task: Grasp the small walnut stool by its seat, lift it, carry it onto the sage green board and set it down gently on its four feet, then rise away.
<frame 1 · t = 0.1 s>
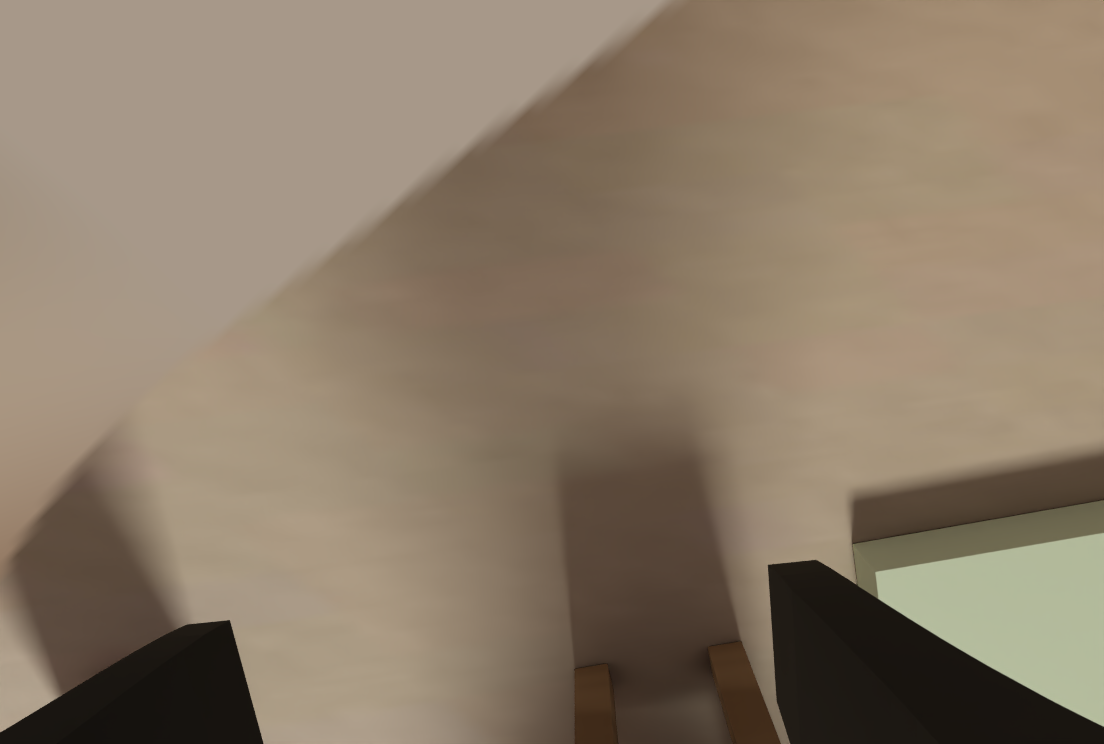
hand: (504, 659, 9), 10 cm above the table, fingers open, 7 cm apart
walnut stool: (671, 725, 21), on the table
sage green board: (1082, 718, 20), on the table
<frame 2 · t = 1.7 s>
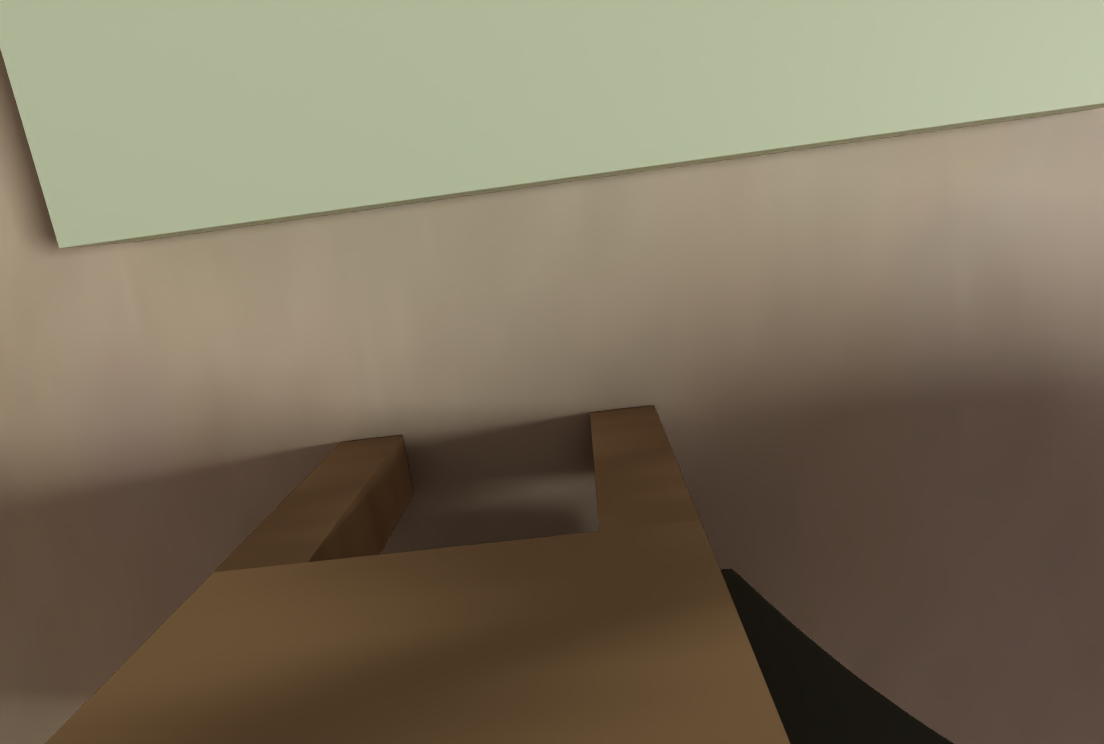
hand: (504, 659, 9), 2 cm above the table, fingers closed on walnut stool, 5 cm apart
walnut stool: (518, 566, 11), on the table, touching gripper
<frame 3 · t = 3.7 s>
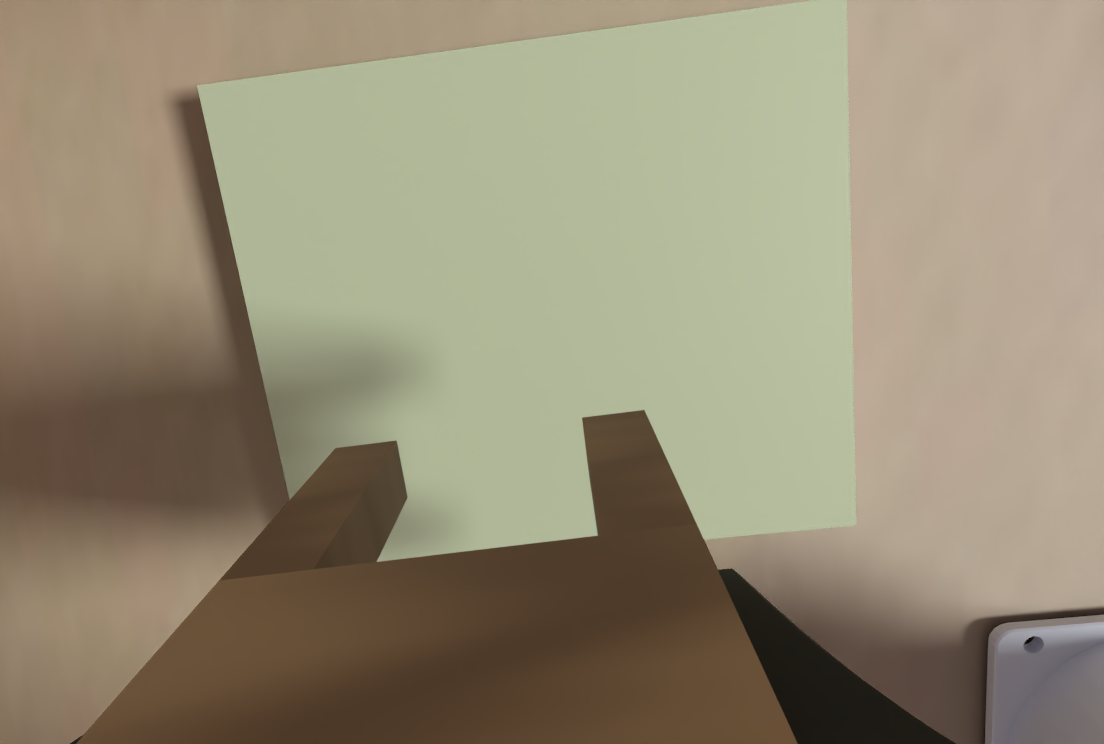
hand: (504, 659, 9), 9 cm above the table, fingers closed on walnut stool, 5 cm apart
walnut stool: (511, 568, 12), point 7 cm above the table, touching gripper
sage green board: (548, 309, 17), on the table
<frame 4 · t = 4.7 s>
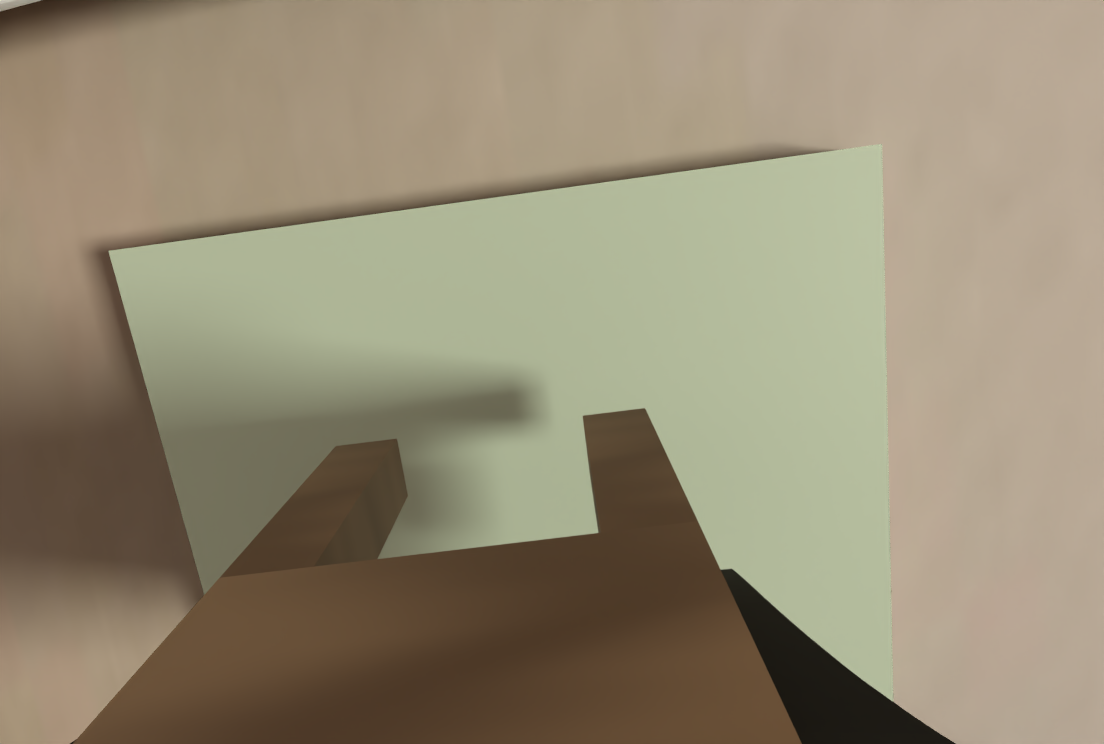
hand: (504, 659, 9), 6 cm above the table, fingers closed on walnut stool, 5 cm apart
walnut stool: (511, 567, 12), point 4 cm above the table, touching gripper
sage green board: (532, 479, 15), on the table
when the fingers open (5 cm above the table, at t = 5.5 s): walnut stool stays where it is, resting on sage green board.
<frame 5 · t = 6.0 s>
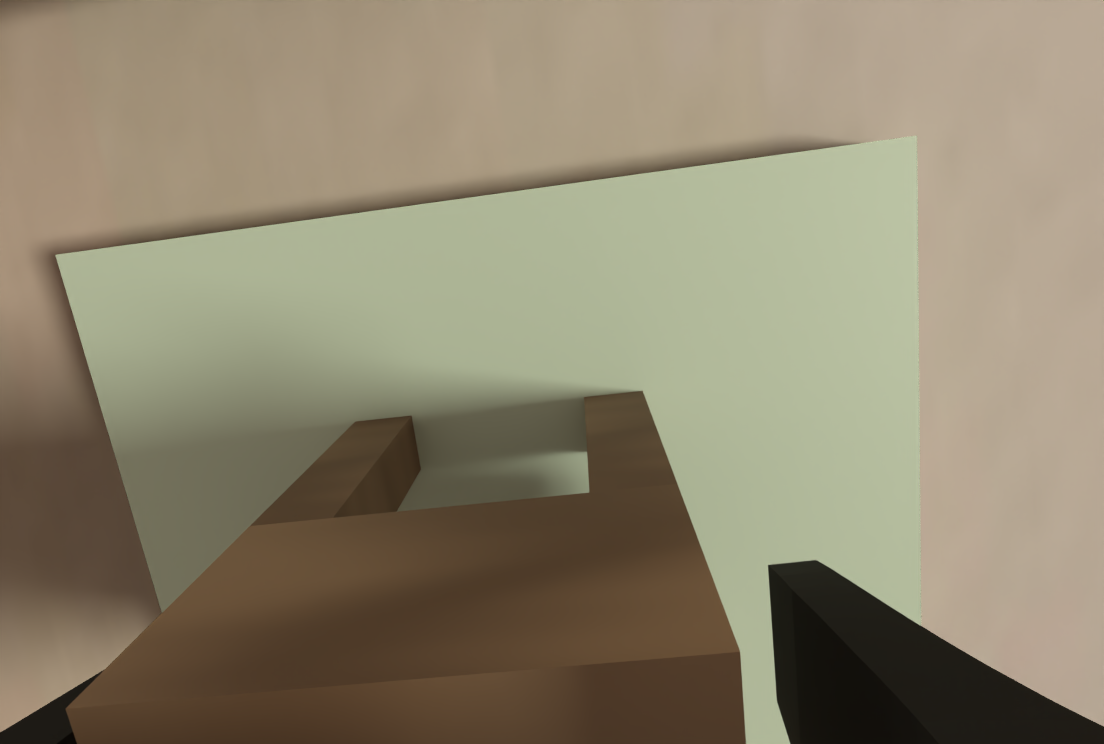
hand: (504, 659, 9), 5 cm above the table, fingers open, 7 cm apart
walnut stool: (516, 538, 12), point 1 cm above the table, touching sage green board
sage green board: (527, 502, 14), on the table
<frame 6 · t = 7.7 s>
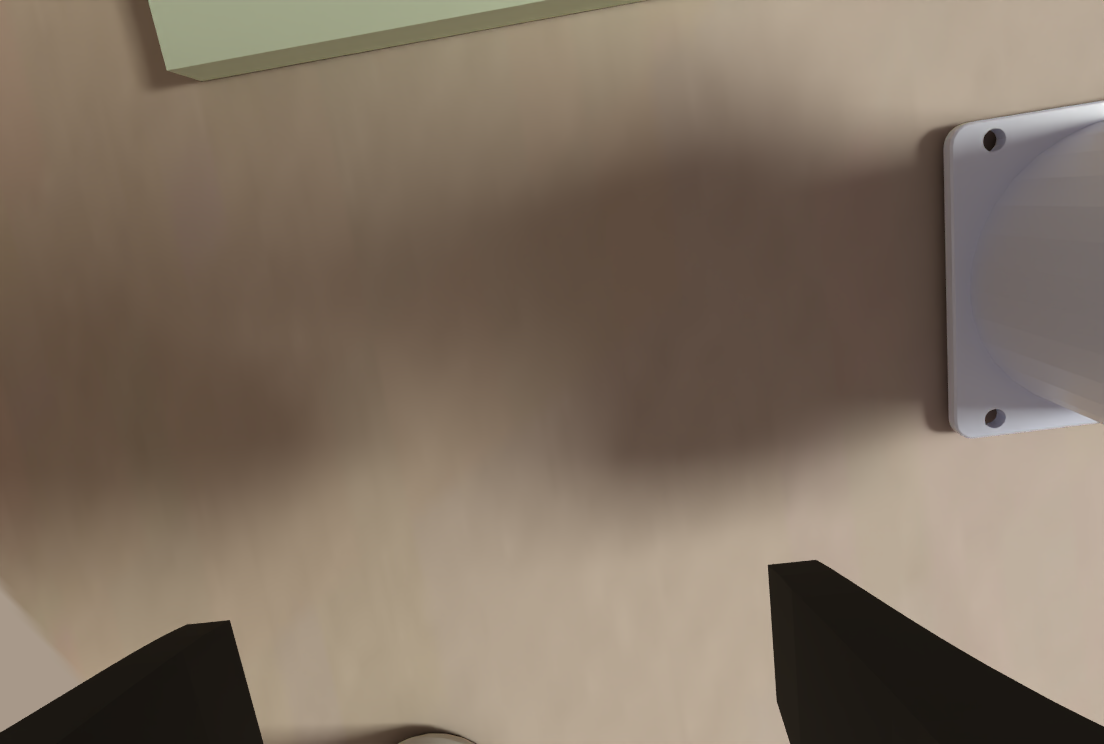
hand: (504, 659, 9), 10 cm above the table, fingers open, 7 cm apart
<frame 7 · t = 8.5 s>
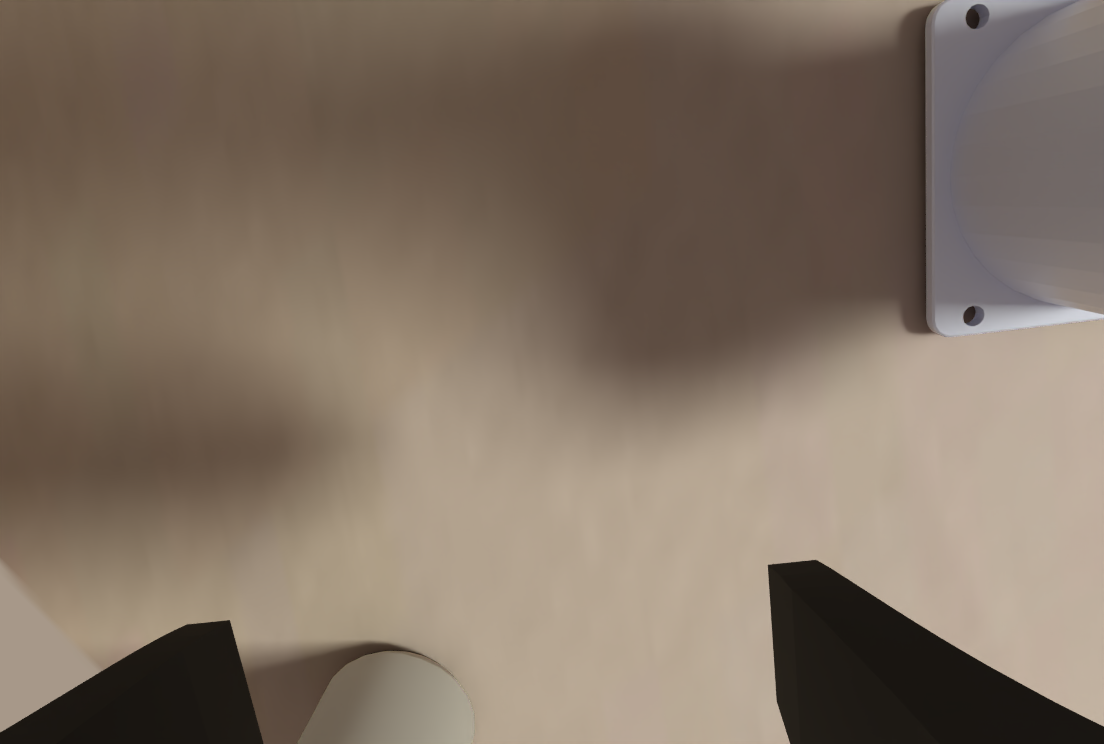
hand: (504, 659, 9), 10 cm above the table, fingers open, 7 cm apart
beverage can: (403, 701, 22), on the table
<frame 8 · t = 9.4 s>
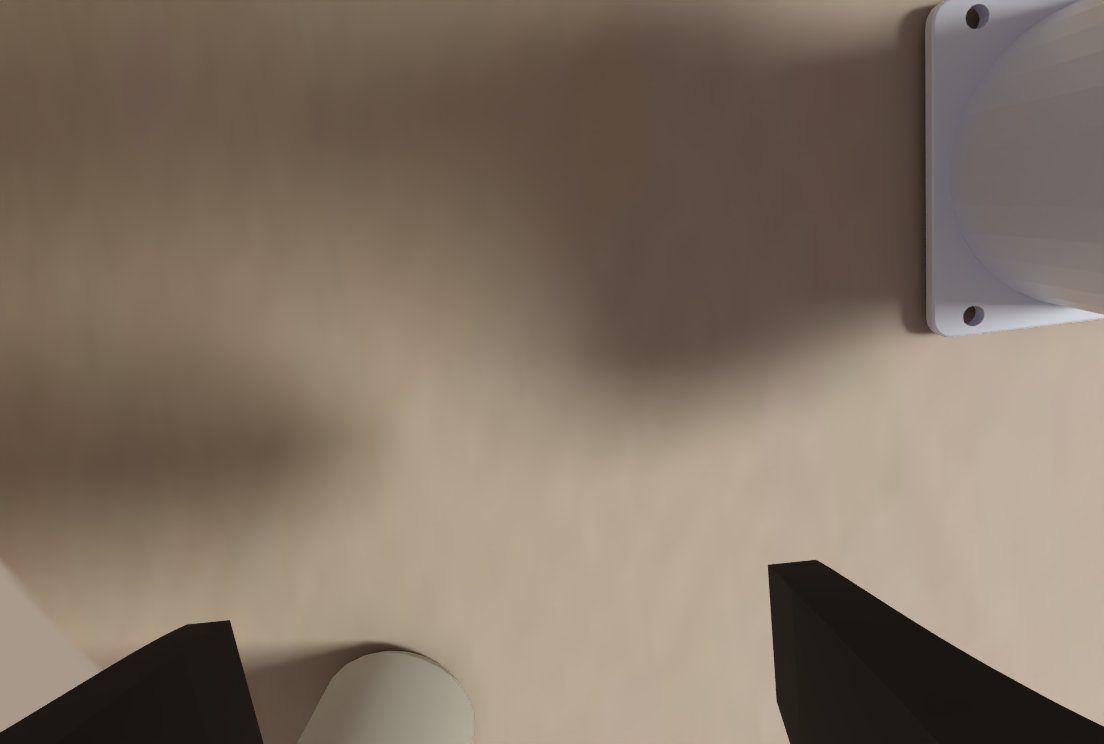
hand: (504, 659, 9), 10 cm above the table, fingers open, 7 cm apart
beverage can: (403, 701, 22), on the table
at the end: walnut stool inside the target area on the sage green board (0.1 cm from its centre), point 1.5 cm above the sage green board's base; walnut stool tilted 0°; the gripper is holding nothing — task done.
